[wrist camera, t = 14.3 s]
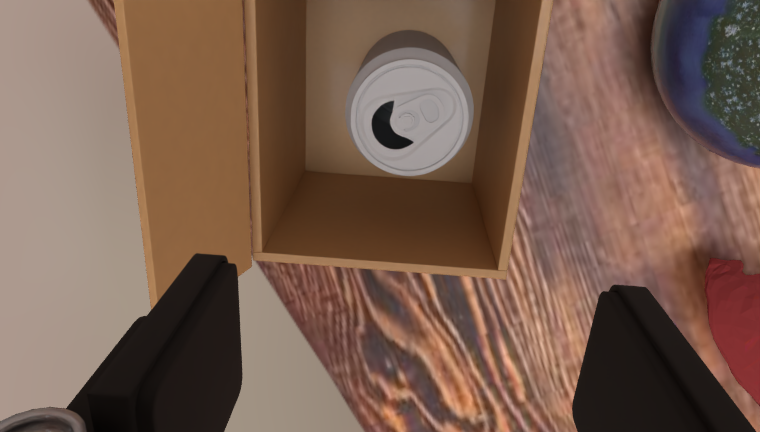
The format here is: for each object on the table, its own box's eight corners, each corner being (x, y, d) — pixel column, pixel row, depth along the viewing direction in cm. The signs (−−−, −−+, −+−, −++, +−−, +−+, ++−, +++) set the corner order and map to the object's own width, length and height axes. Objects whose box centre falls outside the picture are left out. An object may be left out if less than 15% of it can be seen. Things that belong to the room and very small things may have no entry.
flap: (252, 266, 28) (245, 265, 28) (240, -65, 22) (231, -65, 22) (160, 333, 23) (153, 330, 23) (113, -83, 17) (103, -82, 17)
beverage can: (344, 55, 37) (317, 88, 26) (433, 11, 36) (444, 26, 25) (386, 140, 39) (377, 203, 28) (471, 101, 38) (497, 151, 27)
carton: (299, 174, 41) (252, 260, 29) (300, -51, 35) (241, -65, 23) (476, 187, 41) (506, 279, 29) (507, -38, 35) (561, -45, 23)
